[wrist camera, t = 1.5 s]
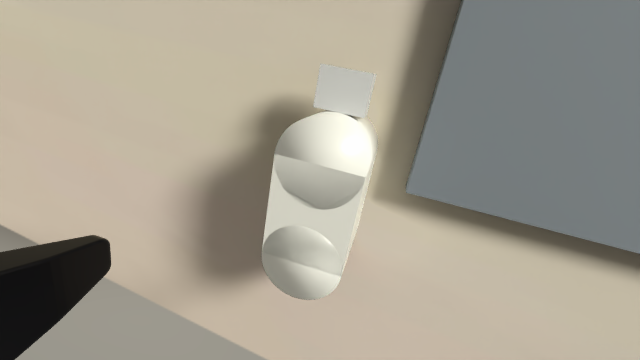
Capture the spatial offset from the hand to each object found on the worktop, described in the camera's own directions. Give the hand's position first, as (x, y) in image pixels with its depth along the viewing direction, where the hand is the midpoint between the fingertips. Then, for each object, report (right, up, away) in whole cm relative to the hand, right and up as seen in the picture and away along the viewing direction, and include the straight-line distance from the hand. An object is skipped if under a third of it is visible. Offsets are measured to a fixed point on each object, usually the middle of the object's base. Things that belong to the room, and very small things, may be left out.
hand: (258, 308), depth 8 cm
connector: (+2, +3, +11) cm, 11 cm away
